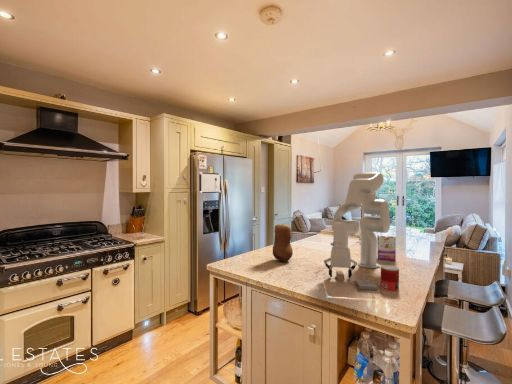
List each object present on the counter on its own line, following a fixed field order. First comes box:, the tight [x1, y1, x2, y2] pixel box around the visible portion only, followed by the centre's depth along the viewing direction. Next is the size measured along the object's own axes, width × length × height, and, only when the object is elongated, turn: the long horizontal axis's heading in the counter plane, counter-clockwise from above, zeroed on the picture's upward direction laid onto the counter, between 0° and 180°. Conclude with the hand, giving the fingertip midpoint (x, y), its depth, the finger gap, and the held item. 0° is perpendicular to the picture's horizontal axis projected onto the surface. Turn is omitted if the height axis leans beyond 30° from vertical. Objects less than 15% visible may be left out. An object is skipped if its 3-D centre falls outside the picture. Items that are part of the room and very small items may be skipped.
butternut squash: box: [272, 223, 294, 263], centre depth 181 cm, size 14×13×25 cm
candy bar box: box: [376, 234, 397, 262], centre depth 186 cm, size 11×5×16 cm, turn 73°
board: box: [351, 280, 383, 294], centre depth 132 cm, size 15×11×1 cm
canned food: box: [380, 264, 400, 292], centre depth 131 cm, size 8×8×11 cm
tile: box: [355, 278, 378, 290], centre depth 133 cm, size 2×8×9 cm
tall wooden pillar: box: [335, 269, 345, 282], centre depth 147 cm, size 14×6×4 cm, turn 171°
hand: (340, 277), depth 144 cm, fingers open, 9 cm apart
